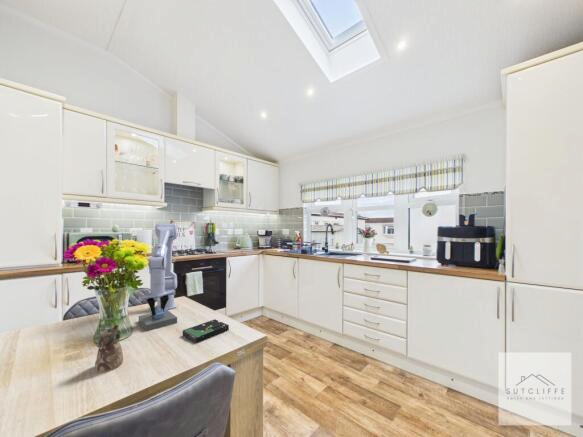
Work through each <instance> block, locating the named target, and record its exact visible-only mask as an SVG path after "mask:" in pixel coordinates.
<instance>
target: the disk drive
mask: <svg viewBox="0 0 583 437" xmlns="http://www.w3.org/2000/svg"><path fill="white" fill-rule="evenodd" d="M229 328H230V327H229V324H227V323H224V322H222V321H219V320H217V319H216V318H214V319H211V320H209V321H205V322H204V323H200V324H197V325H195V326H191V327H188V328H186V329H183V330H182V337H184V338H185V339H186V340H189V341H190V342H192V343H193V344H194V343H195V344H198V343H199V344H200V343H201V342H204V341H205V340H208V339H210V338H213V337H216V336H218V335H221V334H224V333H226V332H228V331H229V330H230V329H229ZM227 330H228V331H227ZM225 331H226V332H225ZM220 333H221V334H220Z"/></svg>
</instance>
